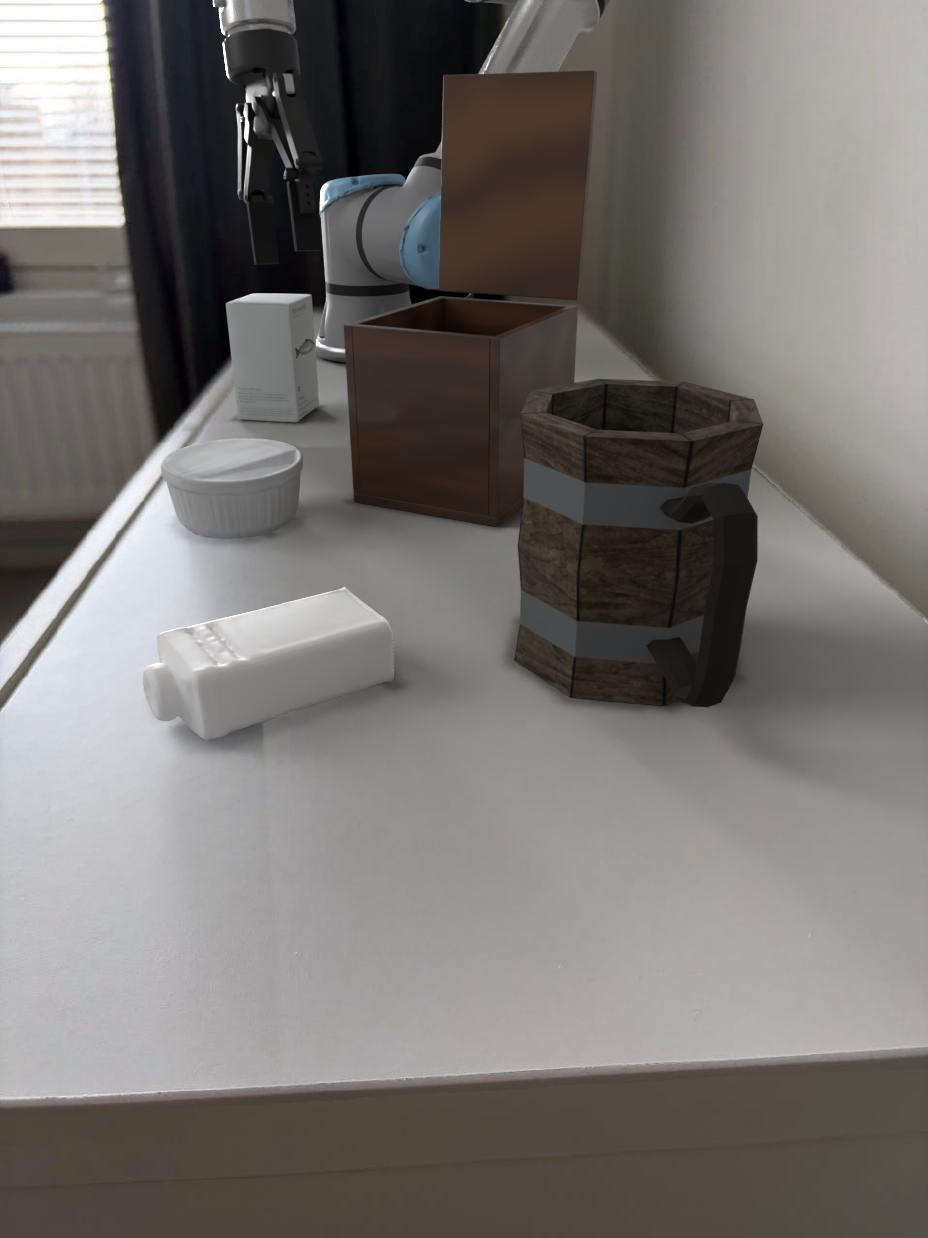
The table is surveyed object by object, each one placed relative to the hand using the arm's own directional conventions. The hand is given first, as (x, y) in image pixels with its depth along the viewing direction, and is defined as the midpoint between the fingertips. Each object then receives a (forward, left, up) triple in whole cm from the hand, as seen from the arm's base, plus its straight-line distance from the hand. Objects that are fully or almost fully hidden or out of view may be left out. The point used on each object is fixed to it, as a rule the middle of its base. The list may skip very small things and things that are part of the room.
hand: (286, 257), depth 104 cm
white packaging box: (+3, 0, -16) cm, 17 cm away
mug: (+42, +54, -16) cm, 70 cm away
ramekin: (+32, +17, -16) cm, 40 cm away
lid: (+8, +30, +8) cm, 32 cm away
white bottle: (+53, +36, -16) cm, 66 cm away
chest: (+16, +30, -16) cm, 38 cm away
